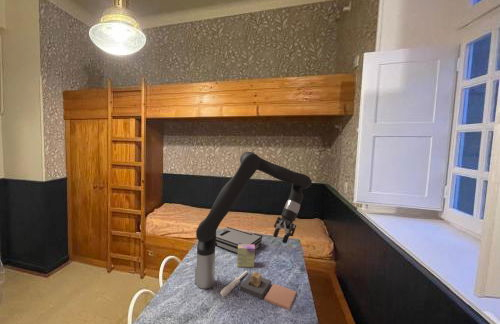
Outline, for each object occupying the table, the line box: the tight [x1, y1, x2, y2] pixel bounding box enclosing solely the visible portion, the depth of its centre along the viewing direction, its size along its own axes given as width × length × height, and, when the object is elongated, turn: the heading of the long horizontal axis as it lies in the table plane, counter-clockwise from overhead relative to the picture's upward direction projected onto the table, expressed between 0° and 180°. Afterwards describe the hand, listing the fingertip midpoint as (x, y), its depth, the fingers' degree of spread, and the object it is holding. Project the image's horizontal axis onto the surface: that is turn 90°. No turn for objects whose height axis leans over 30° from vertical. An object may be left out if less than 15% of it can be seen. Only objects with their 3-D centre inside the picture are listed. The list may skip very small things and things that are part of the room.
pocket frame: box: [239, 273, 272, 300], centre depth 108 cm, size 12×12×2 cm
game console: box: [215, 226, 263, 255], centre depth 153 cm, size 21×32×8 cm, turn 57°
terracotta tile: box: [263, 283, 297, 311], centre depth 102 cm, size 12×12×1 cm
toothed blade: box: [220, 270, 248, 298], centre depth 110 cm, size 3×4×22 cm
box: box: [236, 244, 256, 268], centre depth 128 cm, size 10×6×12 cm, turn 92°
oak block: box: [251, 271, 262, 288], centre depth 108 cm, size 4×4×7 cm
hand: (279, 239), depth 107 cm, fingers open, 8 cm apart
